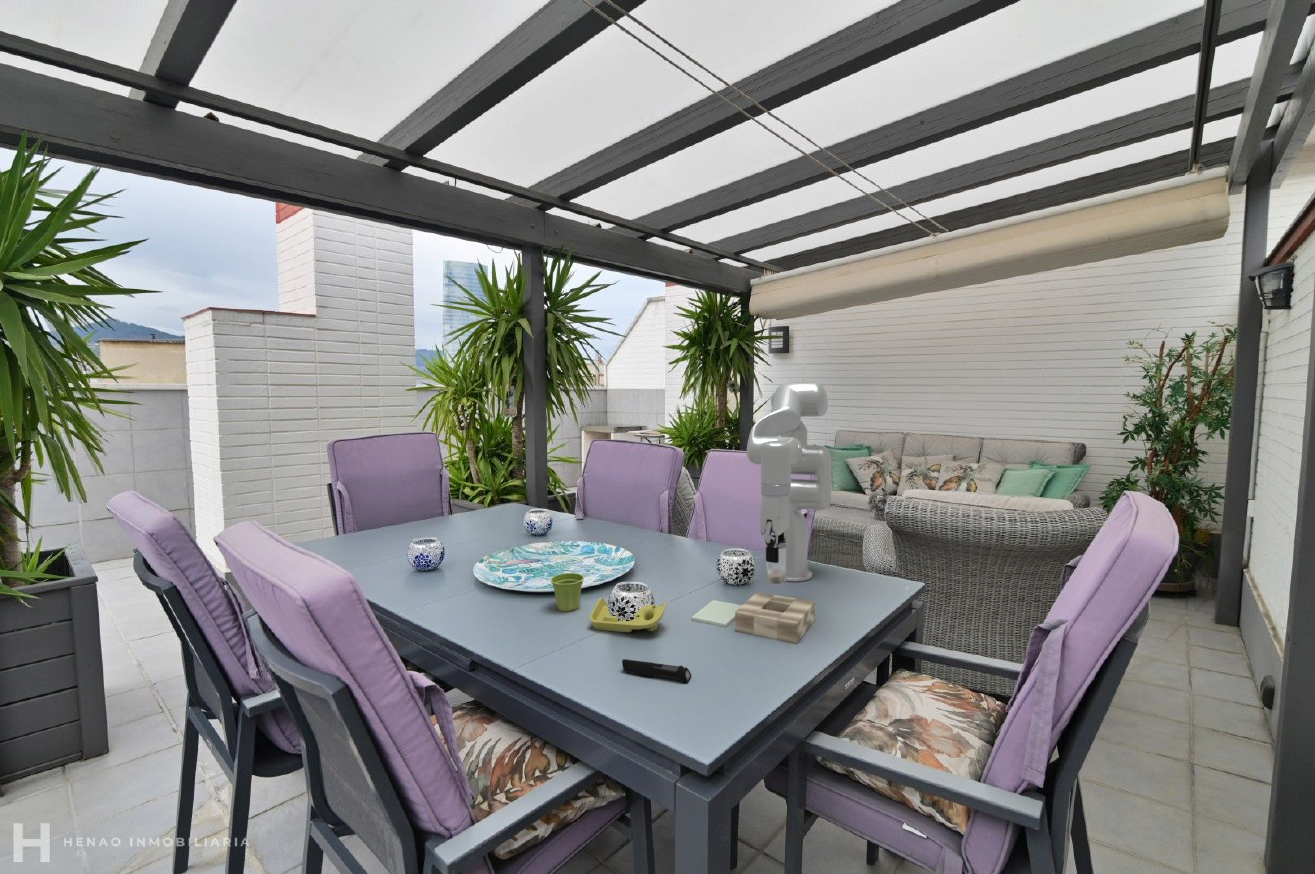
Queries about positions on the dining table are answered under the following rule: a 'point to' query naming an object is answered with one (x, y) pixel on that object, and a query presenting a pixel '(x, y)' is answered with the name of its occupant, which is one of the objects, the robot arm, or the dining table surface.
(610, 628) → the plastic component
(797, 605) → the bore block
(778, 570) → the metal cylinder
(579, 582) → the plant pot
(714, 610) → the mat
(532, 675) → the dining table surface
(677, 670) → the electric trimmer
